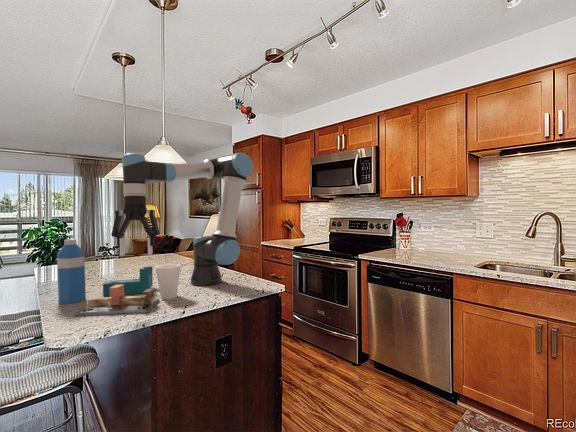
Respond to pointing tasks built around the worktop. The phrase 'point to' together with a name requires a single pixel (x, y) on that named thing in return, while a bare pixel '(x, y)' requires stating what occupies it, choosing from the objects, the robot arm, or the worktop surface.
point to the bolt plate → (115, 309)
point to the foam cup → (168, 280)
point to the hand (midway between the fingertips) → (136, 254)
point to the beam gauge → (126, 299)
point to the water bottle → (71, 273)
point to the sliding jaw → (115, 295)
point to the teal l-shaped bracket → (132, 283)
